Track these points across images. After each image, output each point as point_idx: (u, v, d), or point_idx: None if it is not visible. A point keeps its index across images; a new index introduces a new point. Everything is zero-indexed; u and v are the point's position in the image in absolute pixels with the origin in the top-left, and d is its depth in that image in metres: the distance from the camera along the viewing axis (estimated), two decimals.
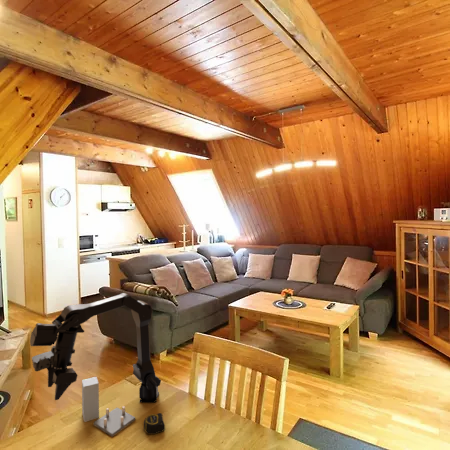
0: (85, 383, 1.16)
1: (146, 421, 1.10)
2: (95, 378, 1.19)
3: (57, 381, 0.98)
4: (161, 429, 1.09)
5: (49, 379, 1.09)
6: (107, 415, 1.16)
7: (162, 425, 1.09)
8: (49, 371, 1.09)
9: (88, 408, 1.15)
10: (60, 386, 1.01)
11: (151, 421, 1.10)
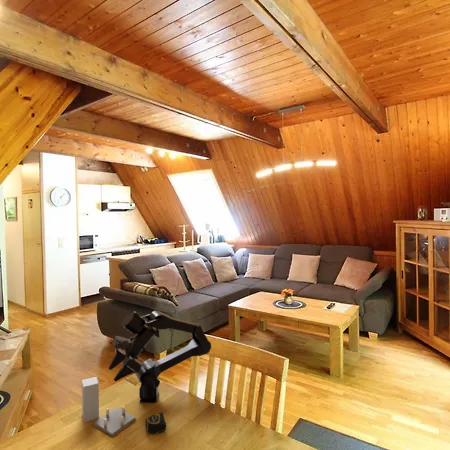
0: (85, 383, 1.16)
1: (148, 420, 1.10)
2: (95, 378, 1.19)
3: (127, 363, 1.14)
4: (163, 428, 1.09)
5: (112, 362, 1.25)
6: (107, 415, 1.16)
7: (164, 424, 1.10)
8: (116, 356, 1.26)
9: (88, 408, 1.15)
10: (124, 370, 1.17)
11: (153, 421, 1.10)
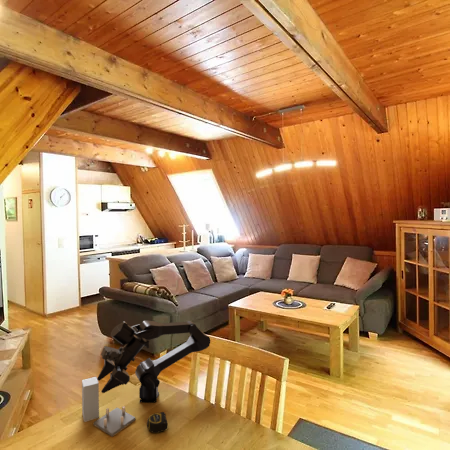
0: (85, 383, 1.16)
1: (149, 420, 1.11)
2: (95, 378, 1.19)
3: (115, 375, 1.12)
4: (164, 428, 1.10)
5: (101, 373, 1.23)
6: (107, 415, 1.16)
7: (165, 424, 1.10)
8: (105, 367, 1.24)
9: (88, 408, 1.15)
10: (112, 382, 1.15)
11: (154, 420, 1.11)
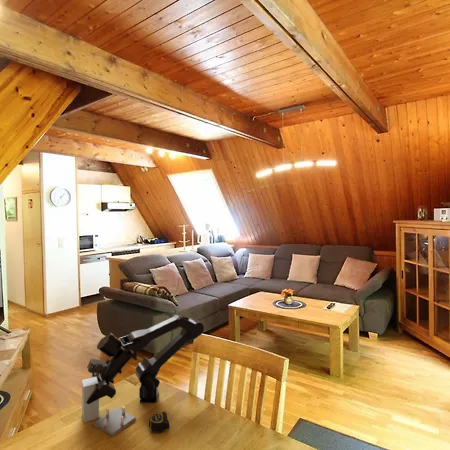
0: (85, 383, 1.16)
1: (151, 420, 1.11)
2: (95, 378, 1.19)
3: (101, 389, 1.10)
4: (166, 427, 1.10)
5: None
6: (107, 415, 1.16)
7: (167, 423, 1.10)
8: None
9: (88, 408, 1.15)
10: (97, 393, 1.15)
11: (156, 420, 1.11)
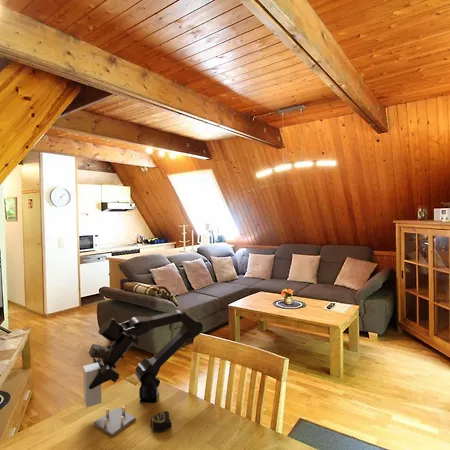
0: (87, 369, 1.14)
1: (153, 419, 1.11)
2: (97, 364, 1.18)
3: (104, 373, 1.09)
4: (168, 427, 1.10)
5: None
6: (107, 415, 1.16)
7: (169, 423, 1.10)
8: None
9: (90, 394, 1.14)
10: (99, 378, 1.14)
11: (158, 419, 1.11)
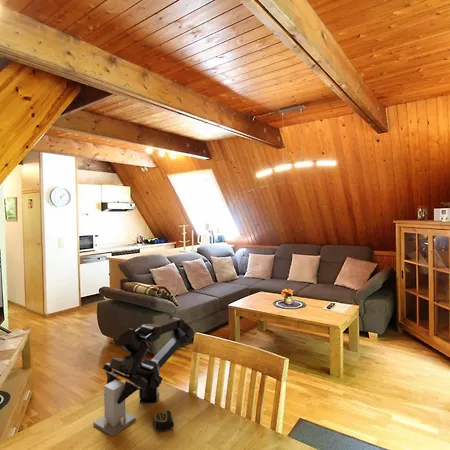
0: (111, 387, 1.12)
1: (155, 418, 1.12)
2: (117, 380, 1.16)
3: (137, 382, 1.10)
4: (170, 426, 1.10)
5: None
6: None
7: (171, 422, 1.11)
8: (110, 381, 1.17)
9: (117, 412, 1.12)
10: (127, 390, 1.12)
11: (160, 419, 1.12)
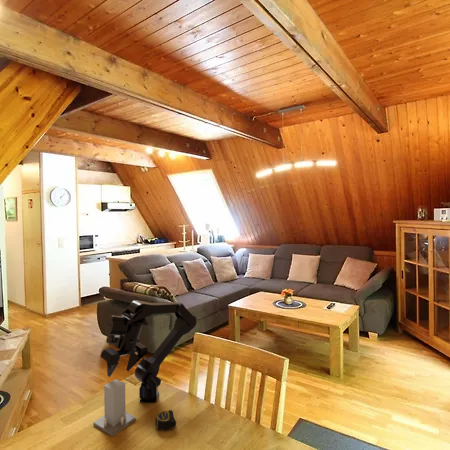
0: (111, 387, 1.12)
1: (157, 418, 1.12)
2: (117, 380, 1.16)
3: None
4: (172, 426, 1.11)
5: (128, 363, 1.26)
6: None
7: (173, 422, 1.11)
8: (130, 357, 1.27)
9: (117, 412, 1.12)
10: (109, 364, 1.17)
11: (163, 418, 1.12)
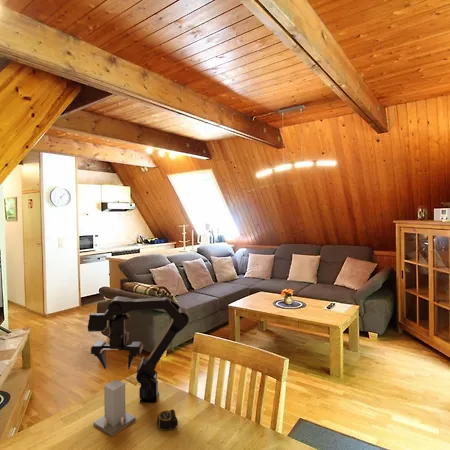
0: (111, 387, 1.12)
1: (159, 417, 1.12)
2: (117, 380, 1.16)
3: None
4: (174, 425, 1.11)
5: None
6: None
7: (175, 421, 1.11)
8: None
9: (117, 412, 1.12)
10: None
11: (164, 417, 1.12)
